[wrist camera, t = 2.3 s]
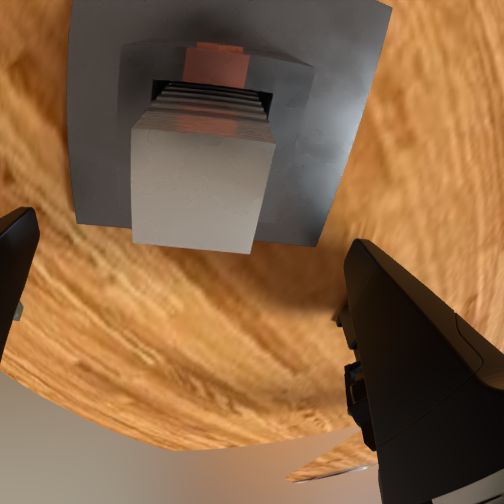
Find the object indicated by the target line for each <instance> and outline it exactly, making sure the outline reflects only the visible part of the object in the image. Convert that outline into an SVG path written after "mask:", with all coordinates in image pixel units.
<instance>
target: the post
mask: <svg viewBox="0 0 504 504" xmlns="http://www.w3.org/2000/svg"><path fill="white" fill-rule="evenodd" d="M263 110H264V108H263V106H261V101H260V100H259V96H258V95H257V92H256V91H255V90H250V89H242V88H235V87H228V86H220V85H211V84H202V83H192V82H182V81H173V82H170V83H169V85H167V86H166V89H163V90H162V91H161V94H158V96H157V98H156V100H153V101H152V102H151V106H150V107H147V108H146V109H145V111H144V114H143V115H142V116H141V118H140V119H139V120H138V121H137V122H136V124H135V125H134V126H133V127H132V129H131V215H132V237H133V243H138V244H149V245H159V246H169V247H180V248H190V249H200V250H211V251H221V252H232V253H242V254H250V252H251V248H252V243H253V239H254V235H255V231H256V226H257V222H258V218H259V214H260V209H261V205H262V201H263V197H264V193H265V188H266V184H267V180H268V176H269V171H270V167H271V163H272V159H273V154H274V150H275V146H276V143H275V140H274V138H273V135H272V133H271V130H270V122H269V120H266V117H267V115H266V112H263Z"/></svg>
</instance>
